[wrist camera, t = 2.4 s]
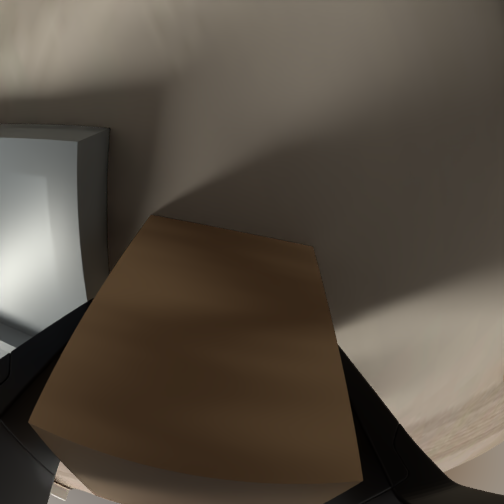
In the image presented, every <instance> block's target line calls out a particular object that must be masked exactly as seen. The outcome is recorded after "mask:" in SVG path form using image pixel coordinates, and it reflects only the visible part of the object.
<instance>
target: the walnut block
mask: <svg viewBox="0 0 504 504" xmlns="http://www.w3.org/2000/svg"><path fill="white" fill-rule="evenodd" d="M28 423H29V424H30V425H31V427H32V428H33V429H34V430H35V432H36V433H37V434H38V435H39V437H40V438H41V439H42V440H43V441H44V443H45V444H46V445H47V446H48V447H49V448H50V450H51V451H52V452H53V453H54V454H55V455H56V456H57V457H58V459H59V460H60V461H61V462H62V463H63V464H64V465H65V466H66V467H67V468H68V469H69V470H70V471H71V472H72V473H73V474H74V475H75V476H76V477H77V478H78V479H79V480H80V481H81V482H82V483H83V484H84V485H85V486H86V487H87V488H88V489H89V490H90V491H91V492H92V493H94V494H95V495H96V496H99V497H102V498H105V499H108V500H111V501H114V502H117V503H121V504H323V503H325V502H327V501H329V500H331V499H333V498H335V497H336V496H338V495H340V494H342V493H343V492H345V491H347V490H349V489H350V488H352V487H354V486H355V485H357V484H359V483H360V482H362V481H363V476H362V469H361V463H360V457H359V450H358V444H357V439H356V433H355V427H354V422H353V416H352V411H351V406H350V401H349V396H348V391H347V386H346V381H345V376H344V371H343V367H342V362H341V357H340V353H339V348H338V344H337V340H336V335H335V331H334V327H333V322H332V318H331V314H330V310H329V306H328V302H327V298H326V294H325V290H324V286H323V282H322V278H321V274H320V271H319V267H318V263H317V259H316V256H315V252H314V248H313V247H312V246H307V245H302V244H298V243H293V242H288V241H283V240H278V239H273V238H268V237H263V236H258V235H253V234H248V233H243V232H238V231H233V230H228V229H223V228H218V227H213V226H208V225H203V224H198V223H192V222H187V221H182V220H177V219H171V218H166V217H161V216H155V215H150V217H149V218H148V219H147V221H146V222H145V224H144V225H143V226H142V228H141V229H140V230H139V232H138V233H137V235H136V236H135V237H134V239H133V240H132V242H131V243H130V245H129V246H128V247H127V249H126V250H125V252H124V253H123V255H122V256H121V258H120V259H119V261H118V262H117V264H116V265H115V267H114V268H113V270H112V271H111V273H110V274H109V276H108V277H107V279H106V280H105V282H104V283H103V285H102V287H101V288H100V290H99V291H98V293H97V294H96V296H95V298H94V299H93V301H92V303H91V304H90V306H89V307H88V309H87V311H86V312H85V314H84V316H83V317H82V319H81V321H80V322H79V324H78V326H77V328H76V329H75V331H74V333H73V335H72V336H71V338H70V340H69V342H68V343H67V345H66V347H65V349H64V351H63V352H62V354H61V356H60V358H59V360H58V362H57V364H56V365H55V367H54V369H53V371H52V373H51V375H50V377H49V379H48V381H47V383H46V385H45V387H44V389H43V391H42V393H41V395H40V397H39V399H38V401H37V403H36V406H35V408H34V410H33V412H32V414H31V416H30V419H29V421H28Z"/></svg>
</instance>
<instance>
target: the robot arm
mask: <svg viewBox="0 0 504 504" xmlns="http://www.w3.org/2000/svg"><path fill="white" fill-rule="evenodd" d="M93 299H94V298H92V299H90V300H89V301H87V302H85V303H84V304H82V305H81V306H79V307H78V308H76V309H74V310H73V311H71V312H70V313H68V314H67V315H65V316H63V317H62V318H60V319H59V320H57V321H56V322H54V323H53V324H51V325H50V326H48V327H47V328H45V329H44V330H42V331H41V332H39V333H38V334H36V335H35V336H33V337H32V338H30V339H29V340H27V341H26V342H24V343H23V344H21V345H20V346H18V347H17V348H15V349H14V350H12V351H11V353H8V354H6V355H5V356H3V357H2V358H1V359H0V504H47V502H48V499H49V495H50V492H51V488H52V485H53V482H54V478H55V475H56V471H57V468H58V465H59V462H60V460H59V459H58V457H57V456H56V455H55V454H54V453H53V452H52V451H51V450H50V448H49V447H48V446H47V445H46V444H45V443H44V441H43V440H42V439H41V438H40V437H39V435H38V434H37V433H36V432H35V430H34V429H33V428H32V427H31V425H30V424H29V423H28V421H29V419H30V416H31V414H32V412H33V410H34V408H35V406H36V403H37V401H38V399H39V397H40V395H41V393H42V391H43V389H44V387H45V385H46V383H47V381H48V379H49V377H50V375H51V373H52V371H53V369H54V367H55V365H56V364H57V362H58V360H59V358H60V356H61V354H62V352H63V351H64V349H65V347H66V345H67V343H68V342H69V340H70V338H71V336H72V335H73V333H74V331H75V329H76V328H77V326H78V324H79V322H80V321H81V319H82V317H83V316H84V314H85V312H86V311H87V309H88V307H89V306H90V304H91V303H92V301H93ZM338 348H339V353H340V357H341V362H342V367H343V371H344V376H345V381H346V386H347V391H348V396H349V401H350V406H351V411H352V416H353V422H354V427H355V433H356V439H357V444H358V450H359V457H360V463H361V469H362V476H363V481H362V482H360V483H359V484H357V485H355V486H354V487H352V488H350V489H349V490H347V491H345V492H343V493H342V494H340V495H338V496H336V497H335V498H333V499H331V500H329V501H327V502H325V503H323V504H504V495H500V494H495V493H490V492H485V491H482V490H477V489H473V488H470V487H466V486H462V485H460V484H457V483H455V482H454V481H452V480H451V479H449V478H448V477H447V476H446V475H445V474H444V473H443V472H442V471H441V470H440V469H439V468H438V466H437V465H436V464H435V463H434V462H433V461H432V460H431V459H430V458H429V457H428V456H427V455H426V454H425V453H424V452H423V451H422V450H421V448H420V447H419V446H418V445H417V444H416V443H415V442H414V440H413V439H412V438H411V437H410V436H409V434H408V433H407V432H406V431H405V429H404V428H403V427H402V425H401V424H399V422H398V420H397V419H396V418H395V417H394V415H393V414H392V413H391V411H390V410H389V409H388V408H387V406H386V405H385V404H384V402H383V401H382V400H381V399H380V397H379V396H378V395H377V394H376V392H375V391H374V390H373V388H372V387H371V386H370V385H369V383H368V382H367V381H366V379H365V378H364V377H363V376H362V374H361V373H360V372H359V371H358V369H357V368H356V367H355V365H354V364H353V363H352V362H351V360H350V359H349V358H348V357H347V355H346V354H345V353H344V352H343V350H342V349H341V348H340V346H339V345H338Z"/></svg>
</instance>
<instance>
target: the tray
mask: <svg viewBox="0 0 504 504" xmlns="http://www.w3.org/2000/svg"><path fill="white" fill-rule="evenodd" d="M109 134H110V128H103V127H90V126H75V125H54V124H0V359H1V358H2V357H3V356H5V355H6V354H8V353H11V351H12V350H14V349H15V348H17V347H18V346H20V345H21V344H23V343H24V342H26V341H27V340H29V339H30V338H32V337H33V336H35V335H36V334H38V333H39V332H41V331H42V330H44V329H45V328H47V327H48V326H50V325H51V324H53V323H54V322H56V321H57V320H59V319H60V318H62V317H63V316H65V315H67V314H68V313H70V312H71V311H73V310H74V309H76V308H78V307H79V306H81V305H82V304H84V303H85V302H87V301H89V300H90V299H92V298H95V296H96V294H97V293H98V291H99V290H100V288H101V287H102V285H103V283H104V282H105V280H106V279H107V277H108V276H109V268H108V250H107V165H108V147H109Z"/></svg>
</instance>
